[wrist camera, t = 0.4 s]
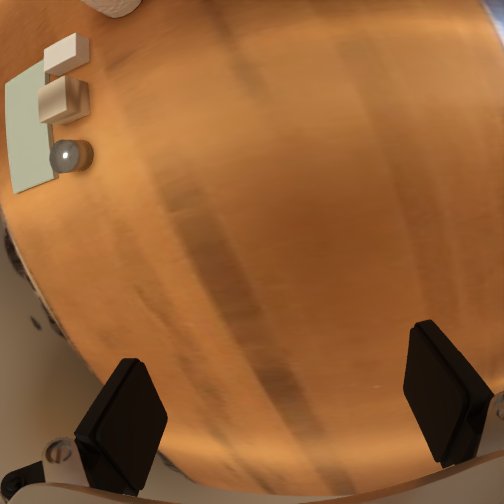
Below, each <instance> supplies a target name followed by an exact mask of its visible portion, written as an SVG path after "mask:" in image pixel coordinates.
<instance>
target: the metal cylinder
mask: <svg viewBox="0 0 504 504" xmlns="http://www.w3.org/2000/svg"><path fill="white" fill-rule="evenodd" d="M93 156H94V152H93V148H92V146H91V144H90V143H89V142H87V141H84V140H59V141H57V142H56V143H55V144H54V145H53V147H52V148H51V151H50V155H49V161H50V165H51V167H52V169H53V170H54V171H55V172H57V173H68V172H75V171H83V170H86V169H87V168H88V167H89V166H90V165H91V163H92V161H93Z"/></svg>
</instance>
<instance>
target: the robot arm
mask: <svg viewBox="0 0 504 504" xmlns="http://www.w3.org/2000/svg"><path fill="white" fill-rule="evenodd" d="M403 391H404V395H405V397H406V399H407V401H408V403H409V405H410V407H411V409H412V411H413V414H414V416H415V418H416V420H417V422H418V424H419V426H420V429H421V431H422V433H423V435H424V437H425V440H426V442H427V444H428V446H429V449H430V451H431V453H432V456H433V458H434V460H435V461H436V462H437V463H438V462H440V463H441V466H442V468H443V469H444V468H446V467H449V466H451V465H454V464H455V466H452V467H449V468H447V469H444V470H442V471H439V472H436V473H433V474H430V475H427V476H424V477H421V478H418V479H415V480H412V481H408V482H405V483H402V484H398V485H395V486H391V487H387V488H384V489H380V490H376V491H371V492H367V493H362V494H358V495H353V496H348V497H342V498H337V499H331V500H324V501H316V502H309V503H300V504H504V391H502V392H499V393H498V394H496V395H494V394H493V392H492V391H491V390H490V389H489V387H488V386H487V385H486V383H485V382H484V381H483V380H482V378H481V377H480V376H479V374H478V373H477V372H476V371H475V369H474V368H473V367H472V366H471V364H470V363H469V362H468V361H467V360H466V358H465V357H464V356H463V355H462V353H461V352H460V351H458V350H457V348H456V347H455V346H454V345H453V344H452V342H451V341H450V340H449V339H448V338H447V337H446V335H445V334H444V333H443V332H442V331H441V330H440V329H439V327H438V326H437V325H436V324H435V323H434V322H433V321H432V320H430V319H429V320H425V321H421V322H417V323H416V324H415V325H414V328H411V330H410V337H409V347H408V355H407V363H406V371H405V378H404V384H403ZM167 420H168V416H167V413H166V411H165V408H164V406H163V404H162V402H161V400H160V398H159V396H158V393H157V391H156V389H155V387H154V385H153V382H152V380H151V378H150V375H149V373H148V371H147V368H146V366H145V364H144V363H143V362H141V361H140V360H139V359H137V358H124V359H122V360H121V361H120V363H119V364H118V366H117V367H116V369H115V370H114V372H113V373H112V375H111V376H110V378H109V379H108V381H107V382H106V384H105V385H104V387H103V388H102V390H101V391H100V393H99V395H98V396H97V398H96V399H95V401H94V402H93V404H92V405H91V407H90V408H89V410H88V412H87V413H86V415H85V416H84V418H83V419H82V421H81V423H80V424H79V426H78V427H77V429H76V431H75V432H74V435H75V436H76V438H75V440H72V439H71V438H68V437H59V438H55V439H53V440H51V441H50V442H49V443H47V445H46V446H45V447H44V449H43V451H42V461H39V462H36V463H34V464H31V465H29V466H26V467H23V468H21V469H18V470H15V471H12V472H10V473H8V474H7V475H6V476H5V477H4V478H3V480H2V482H1V490H0V504H180V503H171V502H163V501H156V500H150V499H143V498H138V497H137V496H138V493H139V490H142V489H143V488H144V486H145V483H146V480H147V477H148V474H149V471H150V469H151V466H152V463H153V460H154V457H155V455H156V452H157V449H158V446H159V443H160V441H161V438H162V435H163V432H164V430H165V427H166V424H167ZM122 494H125V495H122ZM127 495H130V496H127ZM132 496H135V497H132Z"/></svg>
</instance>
